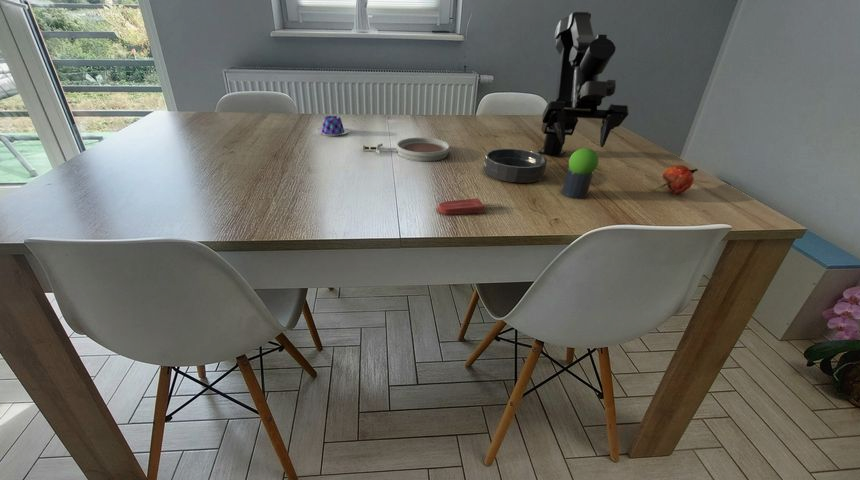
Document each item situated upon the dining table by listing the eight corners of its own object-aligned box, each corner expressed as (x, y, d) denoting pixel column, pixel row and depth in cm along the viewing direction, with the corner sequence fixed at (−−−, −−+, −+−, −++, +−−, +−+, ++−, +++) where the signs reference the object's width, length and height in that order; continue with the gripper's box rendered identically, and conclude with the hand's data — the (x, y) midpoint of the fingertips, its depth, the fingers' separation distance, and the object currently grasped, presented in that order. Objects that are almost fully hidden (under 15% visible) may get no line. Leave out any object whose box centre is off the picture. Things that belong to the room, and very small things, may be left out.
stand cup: (565, 187, 105) (572, 165, 102) (589, 193, 103) (596, 170, 99) (558, 194, 102) (564, 171, 98) (582, 200, 99) (589, 176, 95)
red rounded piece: (660, 205, 102) (707, 187, 97) (649, 179, 101) (696, 159, 96) (656, 198, 108) (700, 180, 103) (645, 173, 107) (689, 154, 102)
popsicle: (506, 204, 92) (442, 209, 89) (504, 211, 93) (441, 216, 90) (498, 196, 95) (436, 201, 93) (496, 203, 96) (435, 208, 94)
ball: (570, 168, 103) (577, 143, 99) (596, 174, 100) (605, 148, 96) (562, 175, 99) (569, 149, 95) (589, 181, 96) (597, 154, 92)
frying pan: (364, 135, 134) (449, 137, 132) (364, 144, 136) (448, 146, 134) (356, 151, 120) (452, 153, 118) (357, 161, 122) (451, 163, 120)
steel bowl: (498, 160, 123) (500, 145, 120) (551, 172, 115) (555, 156, 112) (473, 174, 112) (475, 158, 110) (529, 189, 104) (533, 172, 102)
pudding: (348, 137, 140) (347, 121, 137) (313, 136, 140) (312, 121, 137) (351, 128, 150) (350, 113, 147) (318, 127, 150) (317, 112, 147)
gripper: (556, 64, 95) (552, 124, 92) (641, 67, 93) (639, 129, 90) (543, 94, 106) (539, 149, 103) (618, 97, 104) (617, 154, 101)
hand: (582, 145), depth 99 cm, fingers open, 9 cm apart
